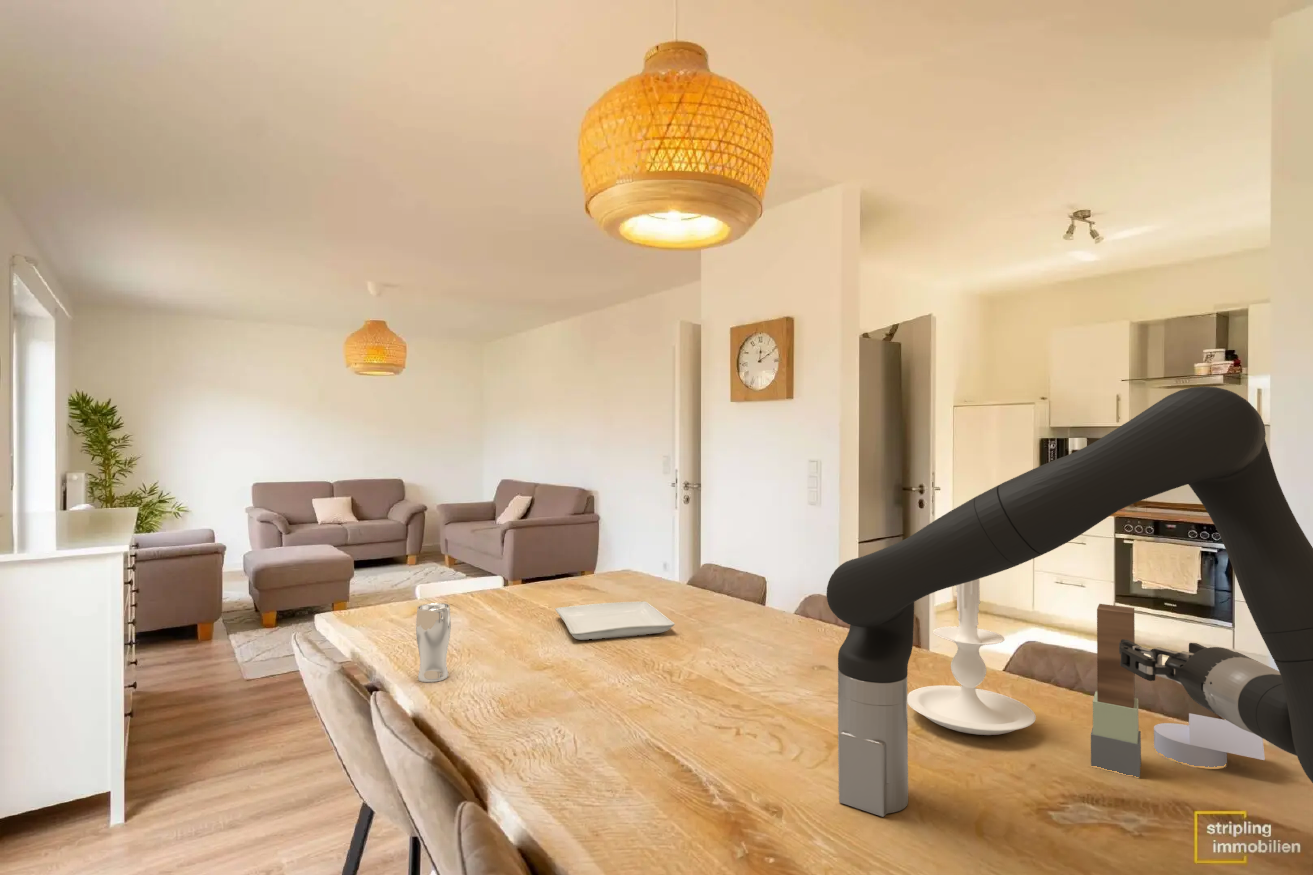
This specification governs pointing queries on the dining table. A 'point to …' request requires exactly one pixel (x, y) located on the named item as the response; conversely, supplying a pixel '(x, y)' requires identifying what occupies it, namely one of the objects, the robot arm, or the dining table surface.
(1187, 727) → the wedge on round base
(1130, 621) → the walnut pillar
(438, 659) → the beer glass
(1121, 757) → the tower base
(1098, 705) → the tower top
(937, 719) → the candlestick
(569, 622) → the square plate
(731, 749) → the dining table surface
